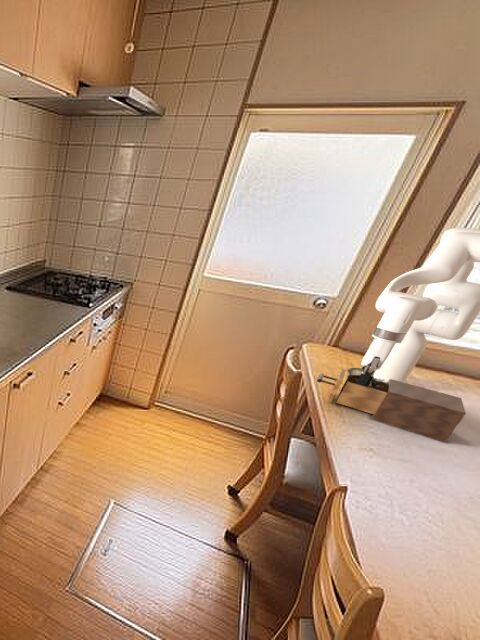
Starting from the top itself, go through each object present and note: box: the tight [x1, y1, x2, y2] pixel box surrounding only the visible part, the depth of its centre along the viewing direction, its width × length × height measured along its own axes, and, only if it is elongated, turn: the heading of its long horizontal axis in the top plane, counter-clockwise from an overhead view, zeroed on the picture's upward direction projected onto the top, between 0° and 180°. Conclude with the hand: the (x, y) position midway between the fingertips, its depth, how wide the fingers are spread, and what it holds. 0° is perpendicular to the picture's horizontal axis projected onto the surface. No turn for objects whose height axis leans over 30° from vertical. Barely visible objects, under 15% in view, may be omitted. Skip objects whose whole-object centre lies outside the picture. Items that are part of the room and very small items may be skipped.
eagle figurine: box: [347, 367, 385, 389], centre depth 146 cm, size 8×7×9 cm
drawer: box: [316, 368, 388, 415], centre depth 149 cm, size 22×14×9 cm, turn 46°
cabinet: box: [371, 379, 467, 443], centre depth 139 cm, size 18×15×11 cm
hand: (362, 381), depth 147 cm, fingers closed on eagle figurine, 8 cm apart
